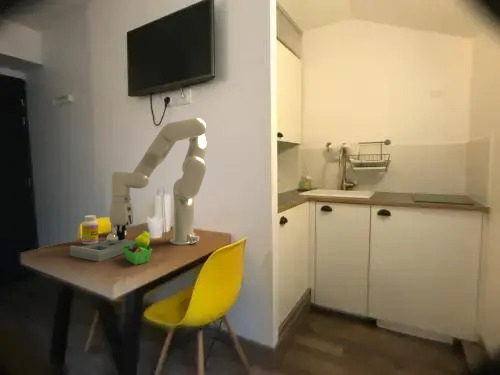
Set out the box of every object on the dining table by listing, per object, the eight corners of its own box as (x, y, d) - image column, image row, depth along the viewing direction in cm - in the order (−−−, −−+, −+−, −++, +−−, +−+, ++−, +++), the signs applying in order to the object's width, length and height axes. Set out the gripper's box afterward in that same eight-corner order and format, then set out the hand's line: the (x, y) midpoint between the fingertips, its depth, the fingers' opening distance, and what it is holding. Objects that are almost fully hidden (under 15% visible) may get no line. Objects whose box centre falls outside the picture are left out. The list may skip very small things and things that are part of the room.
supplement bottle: (91, 245, 130) (90, 217, 129) (78, 244, 131) (78, 216, 131) (101, 241, 137) (101, 215, 136) (89, 240, 138) (89, 214, 137)
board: (141, 247, 129) (141, 238, 129) (99, 261, 109) (98, 251, 108) (114, 243, 135) (114, 234, 135) (70, 255, 115) (70, 246, 114)
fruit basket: (121, 259, 112) (121, 231, 112) (143, 254, 119) (143, 228, 118) (133, 266, 104) (133, 236, 104) (156, 261, 111) (156, 233, 110)
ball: (119, 231, 124) (110, 236, 120) (121, 241, 126) (113, 246, 121) (111, 230, 126) (102, 235, 122) (114, 240, 128) (105, 245, 123)
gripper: (140, 199, 128) (139, 240, 129) (115, 197, 133) (115, 236, 135) (126, 201, 121) (126, 243, 122) (101, 199, 126) (101, 239, 128)
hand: (120, 239), depth 128 cm, fingers closed
